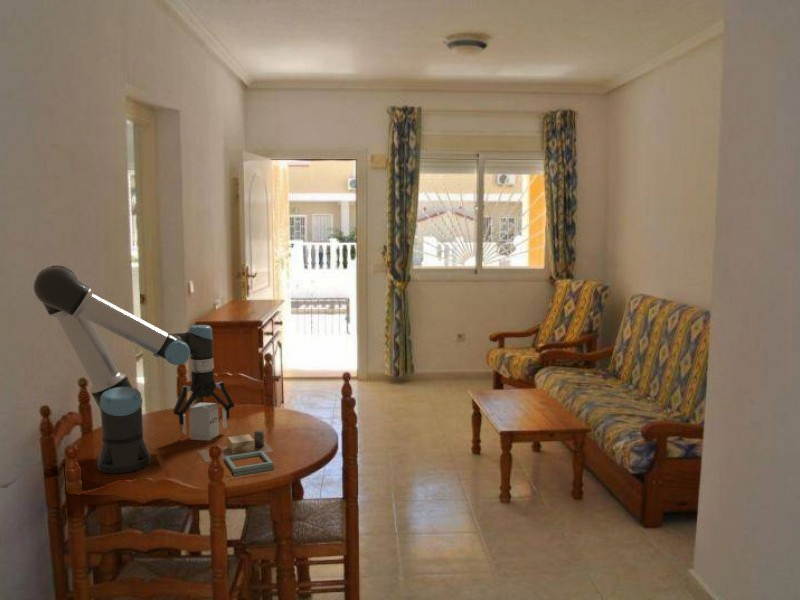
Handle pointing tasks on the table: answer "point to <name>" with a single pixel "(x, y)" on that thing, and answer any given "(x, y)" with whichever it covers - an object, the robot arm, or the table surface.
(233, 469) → the grey-green flat square frame
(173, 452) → the table surface
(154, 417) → the table surface
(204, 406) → the supplement box
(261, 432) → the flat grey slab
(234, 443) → the beige wooden block
